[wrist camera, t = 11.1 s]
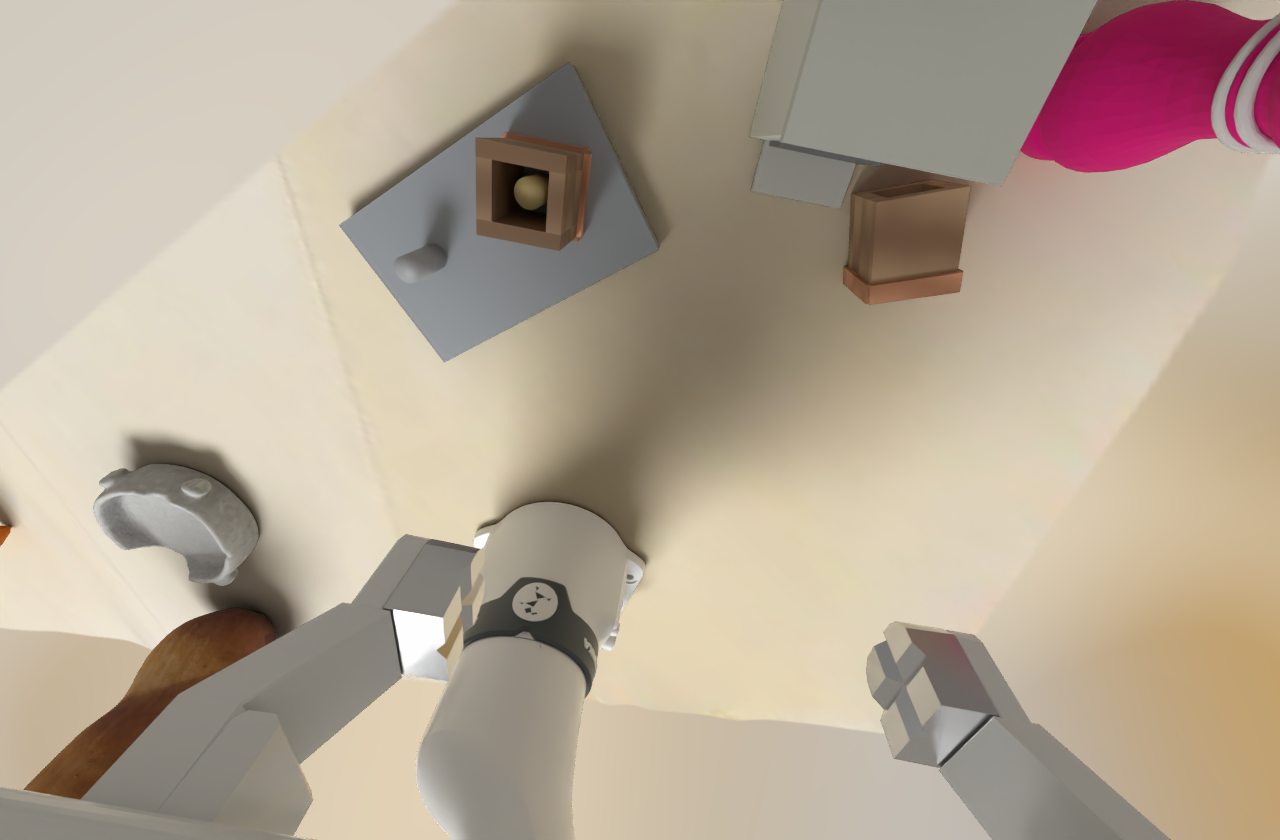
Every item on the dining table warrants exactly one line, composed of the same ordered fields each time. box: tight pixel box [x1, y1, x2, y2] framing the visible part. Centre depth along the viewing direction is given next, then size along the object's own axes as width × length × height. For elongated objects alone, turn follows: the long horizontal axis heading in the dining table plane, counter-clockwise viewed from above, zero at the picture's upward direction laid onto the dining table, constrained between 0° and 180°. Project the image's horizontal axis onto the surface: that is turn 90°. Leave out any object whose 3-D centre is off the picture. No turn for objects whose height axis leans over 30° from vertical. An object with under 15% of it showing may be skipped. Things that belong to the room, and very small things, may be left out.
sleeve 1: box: [475, 132, 592, 251], centre depth 29 cm, size 6×6×6 cm
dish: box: [93, 464, 258, 586], centre depth 51 cm, size 14×14×5 cm
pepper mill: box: [1020, 0, 1280, 172], centre depth 20 cm, size 7×7×20 cm
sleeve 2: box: [843, 180, 971, 305], centre depth 30 cm, size 6×6×5 cm
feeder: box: [749, 0, 1098, 209], centre depth 23 cm, size 11×9×15 cm
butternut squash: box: [24, 608, 276, 799], centre depth 53 cm, size 14×13×25 cm
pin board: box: [339, 62, 660, 362], centre depth 32 cm, size 12×20×6 cm, turn 118°
